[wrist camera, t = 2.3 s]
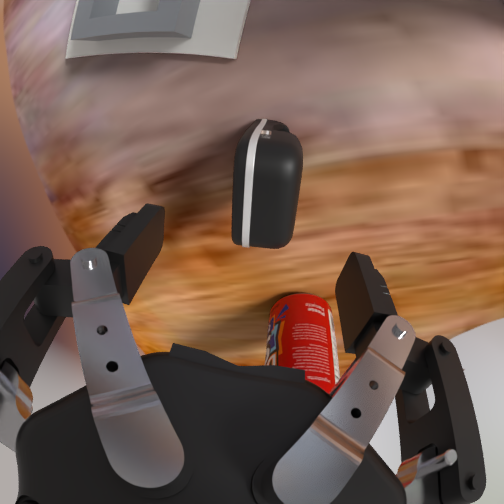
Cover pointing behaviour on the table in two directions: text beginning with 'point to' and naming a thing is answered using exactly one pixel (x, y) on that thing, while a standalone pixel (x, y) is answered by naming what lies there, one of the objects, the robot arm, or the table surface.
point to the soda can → (304, 338)
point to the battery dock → (204, 41)
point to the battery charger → (266, 185)
